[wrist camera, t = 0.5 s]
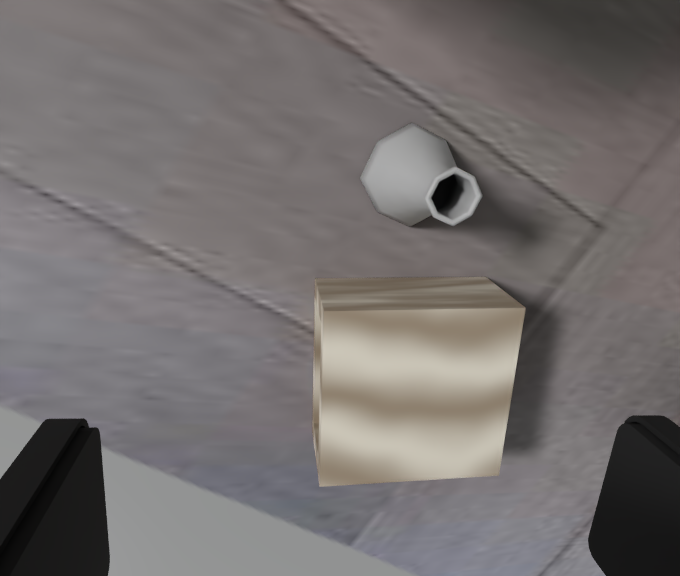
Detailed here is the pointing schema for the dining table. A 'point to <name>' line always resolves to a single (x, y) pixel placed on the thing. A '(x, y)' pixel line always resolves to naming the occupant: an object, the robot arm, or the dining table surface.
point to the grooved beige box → (412, 377)
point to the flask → (419, 179)
